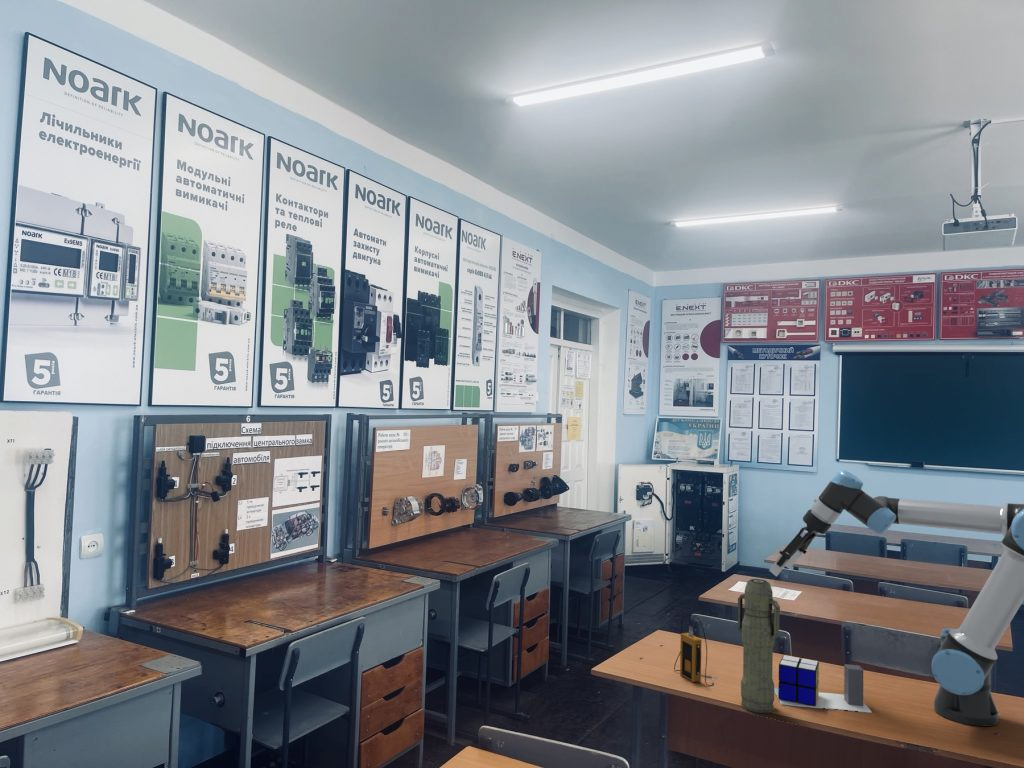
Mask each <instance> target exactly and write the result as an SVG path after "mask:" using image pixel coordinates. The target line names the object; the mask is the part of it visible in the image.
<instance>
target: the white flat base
mask: <svg viewBox="0 0 1024 768" xmlns="http://www.w3.org/2000/svg"><path fill="white" fill-rule="evenodd" d="M843 666H844V669H843V670H844V674H843V678H844V679H843V687H844V688H843V689H844V690H843V694H842V693H832V692H820V691H819V695H818V699H817V703H816V706H810V705H805V704H800V703H798V702H791V701H786V700H781V699H779V698H778V688H779V687H778V688H776V687H774V695H775V696H776V695H777V696H776V697H777V699H778V701H779V703H780V705H781V706H794V707H803V708H813V709H823V708H825V709H824V710H834V709H838V710H837V711H844V710H848V711H847V712H855V711H858V713H868V714H872V713H873V712H872V710H871V708H869V706H867V704H866V703H865V702H864V669H863V668H862V667H861V666H860V665H857V664H856V665H855V664H846V663H845V664H843Z"/></svg>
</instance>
